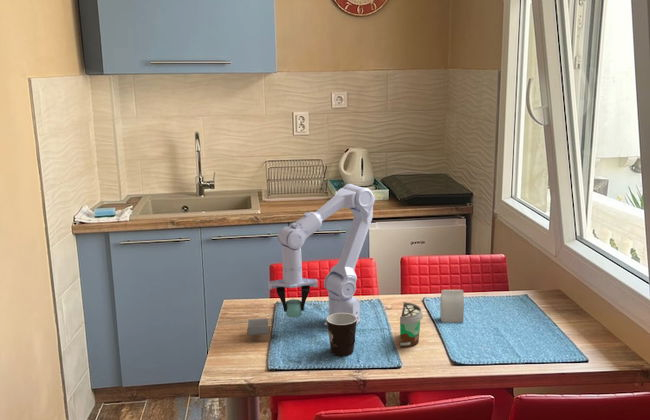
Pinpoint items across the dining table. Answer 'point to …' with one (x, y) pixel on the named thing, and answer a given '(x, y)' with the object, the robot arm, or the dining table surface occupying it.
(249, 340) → the base block
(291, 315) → the green rounded cylinder
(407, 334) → the food container
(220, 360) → the dining table surface
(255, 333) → the top block
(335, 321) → the coffee mug
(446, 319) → the grey rectangular block
